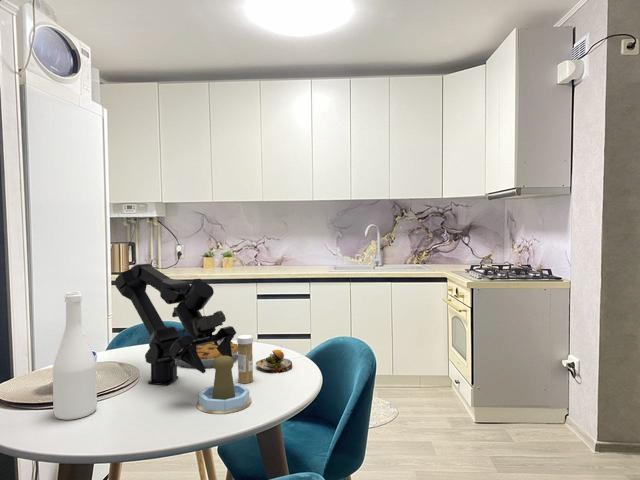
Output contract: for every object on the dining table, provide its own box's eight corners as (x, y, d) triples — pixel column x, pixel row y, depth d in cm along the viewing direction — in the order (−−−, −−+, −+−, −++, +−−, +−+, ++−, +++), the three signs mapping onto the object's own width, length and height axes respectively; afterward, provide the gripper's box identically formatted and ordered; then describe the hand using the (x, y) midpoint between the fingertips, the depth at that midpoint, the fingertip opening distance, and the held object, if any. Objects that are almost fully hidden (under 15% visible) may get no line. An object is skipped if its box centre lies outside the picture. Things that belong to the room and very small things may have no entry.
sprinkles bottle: (255, 381, 138) (255, 336, 137) (241, 384, 135) (241, 338, 135) (249, 377, 142) (248, 333, 141) (235, 380, 139) (234, 335, 138)
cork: (223, 404, 117) (223, 361, 117) (206, 399, 121) (206, 357, 120) (240, 397, 122) (240, 355, 122) (224, 392, 126) (223, 352, 125)
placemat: (187, 412, 116) (187, 410, 116) (209, 391, 130) (209, 390, 130) (241, 415, 114) (241, 414, 114) (258, 394, 127) (258, 393, 127)
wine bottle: (67, 424, 109) (64, 296, 108) (45, 415, 114) (42, 293, 113) (105, 410, 117) (102, 291, 116) (83, 402, 122) (80, 288, 121)
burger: (259, 362, 158) (259, 340, 157) (294, 362, 157) (294, 341, 157) (252, 373, 146) (252, 350, 145) (290, 374, 145) (290, 350, 145)
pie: (243, 350, 172) (243, 337, 171) (234, 369, 150) (234, 354, 150) (183, 351, 171) (183, 337, 171) (165, 370, 149) (165, 354, 149)
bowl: (192, 409, 117) (192, 399, 117) (211, 391, 128) (211, 382, 128) (238, 412, 115) (238, 402, 115) (253, 394, 127) (253, 385, 126)
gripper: (175, 307, 118) (203, 359, 111) (232, 297, 132) (259, 343, 126) (157, 333, 123) (183, 384, 117) (213, 321, 138) (239, 365, 131)
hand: (218, 367), depth 123 cm, fingers open, 9 cm apart
